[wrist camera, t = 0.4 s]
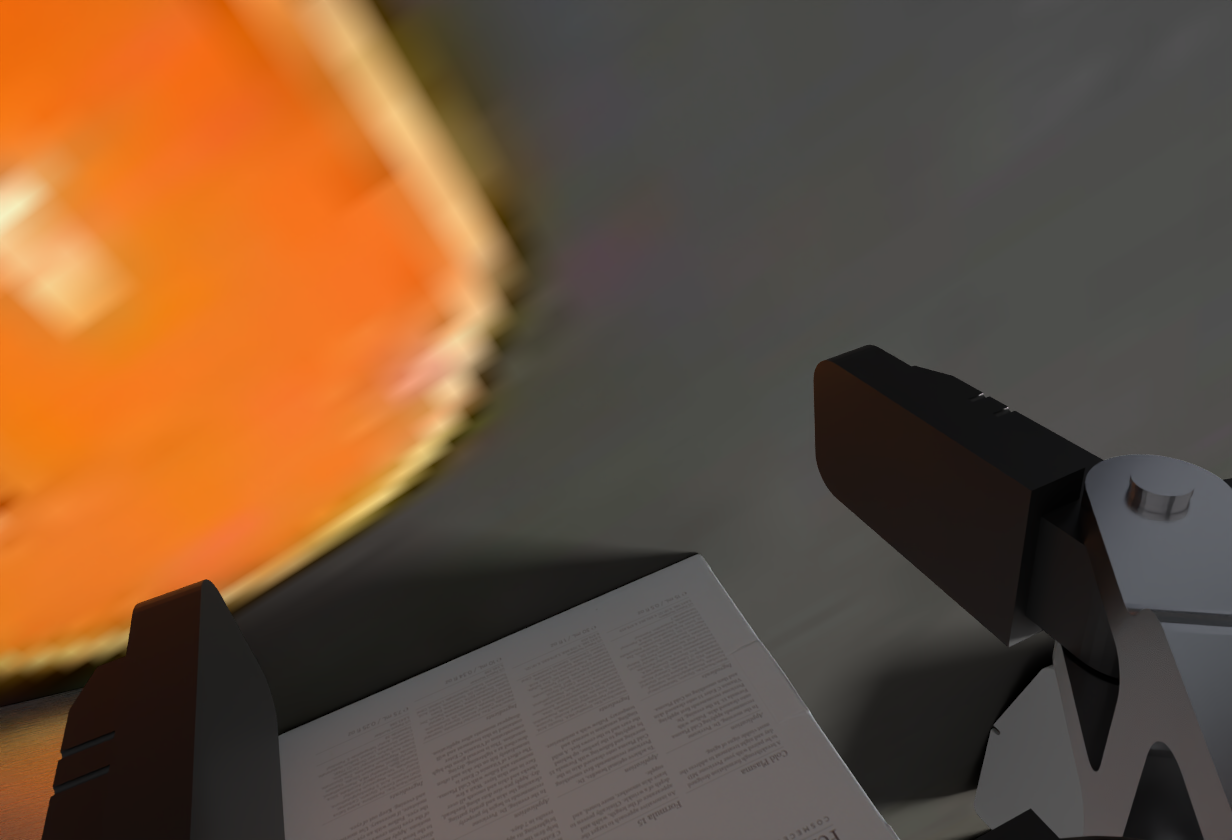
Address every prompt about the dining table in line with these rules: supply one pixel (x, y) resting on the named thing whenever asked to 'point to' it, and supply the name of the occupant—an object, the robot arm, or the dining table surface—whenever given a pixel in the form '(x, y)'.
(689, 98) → the dining table surface
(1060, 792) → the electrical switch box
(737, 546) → the dining table surface
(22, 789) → the rack bay
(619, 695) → the skincare box
